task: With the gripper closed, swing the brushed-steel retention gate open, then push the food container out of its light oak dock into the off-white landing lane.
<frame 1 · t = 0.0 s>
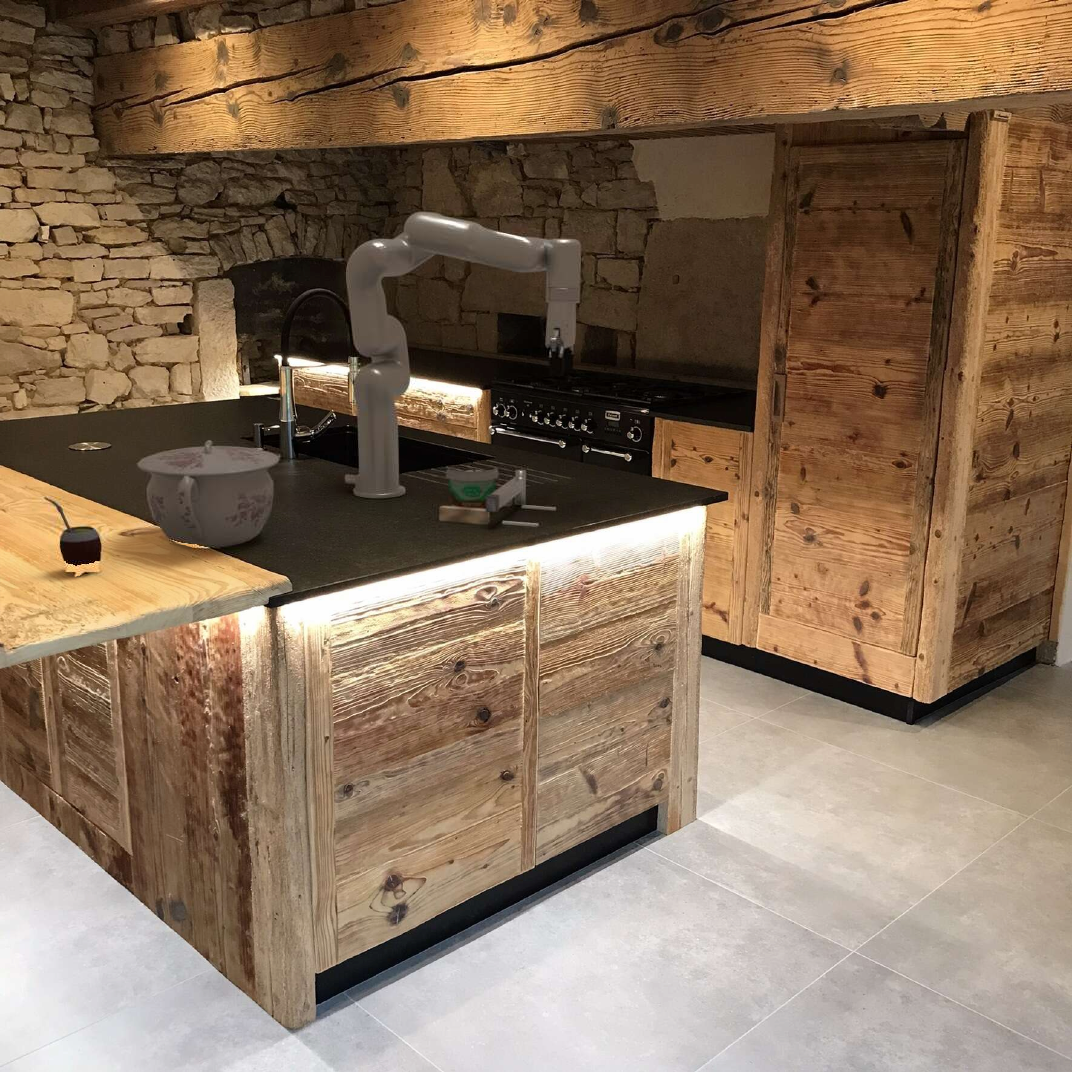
hand: (561, 373, 247), 31 cm above the table, fingers open, 9 cm apart
dock: (476, 512, 249), on the table
food container: (474, 513, 249), on the table
chamber pot: (213, 541, 222), on the table
retention gate: (507, 497, 245), point 4 cm above the table, hinge at 0.0°
mate gourd: (81, 573, 200), on the table
landing lane: (529, 516, 246), on the table
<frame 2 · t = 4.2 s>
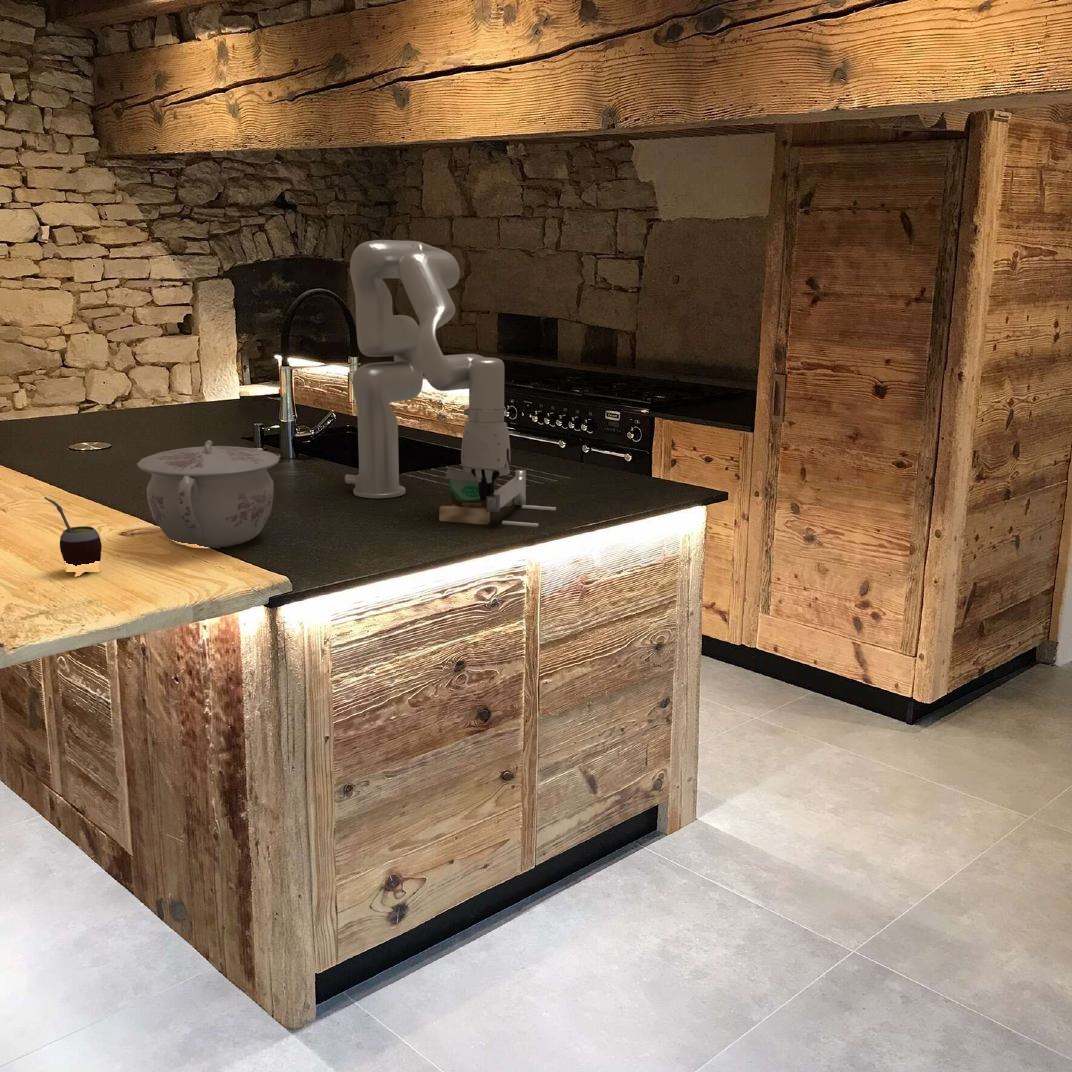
hand: (486, 499, 239), 5 cm above the table, fingers closed
retention gate: (507, 497, 245), point 4 cm above the table, hinge at 0.5°, touching gripper
everything else where it was.
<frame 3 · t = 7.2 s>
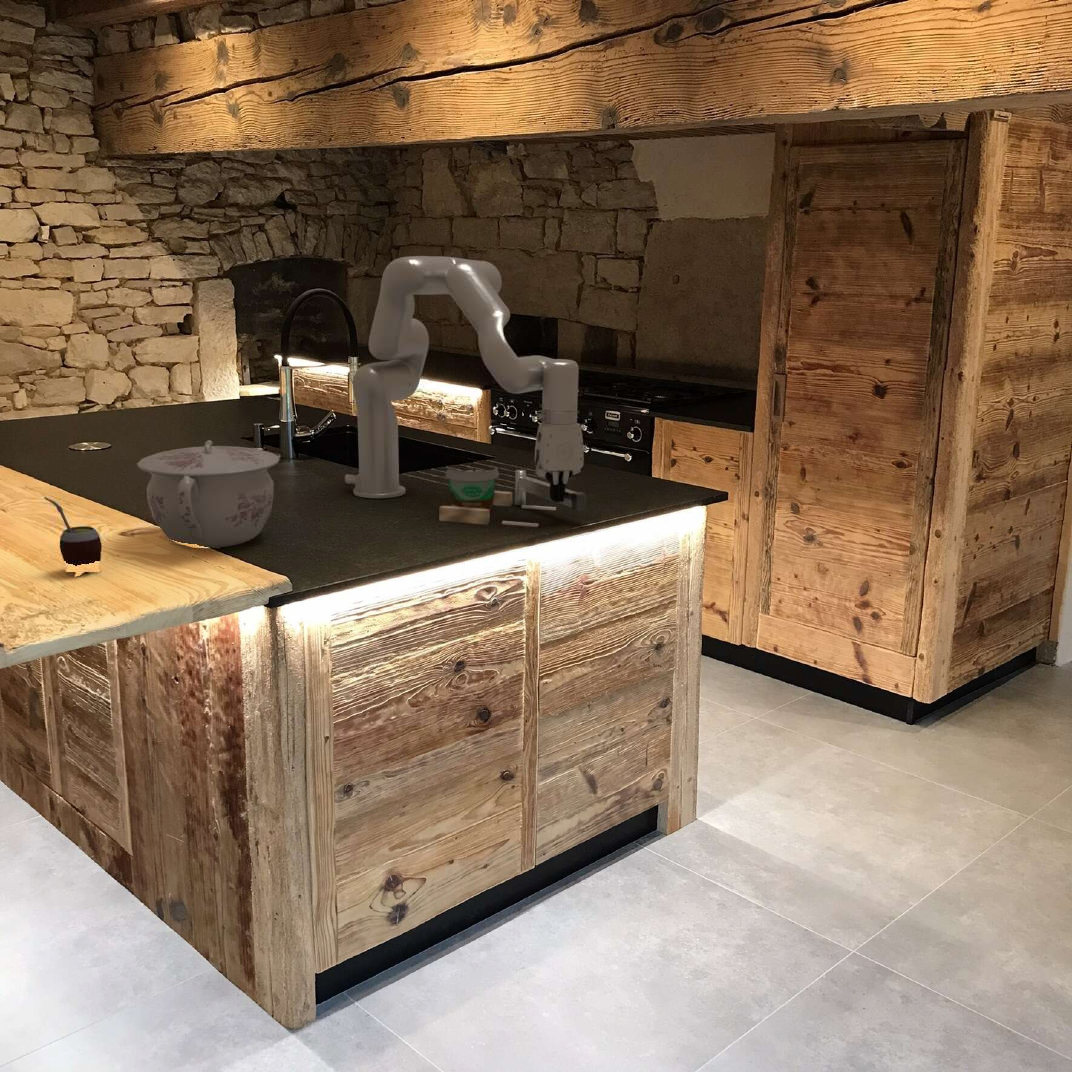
hand: (557, 500, 239), 5 cm above the table, fingers closed
retention gate: (548, 496, 247), point 4 cm above the table, hinge at 49.9°, touching gripper
everything else where it was.
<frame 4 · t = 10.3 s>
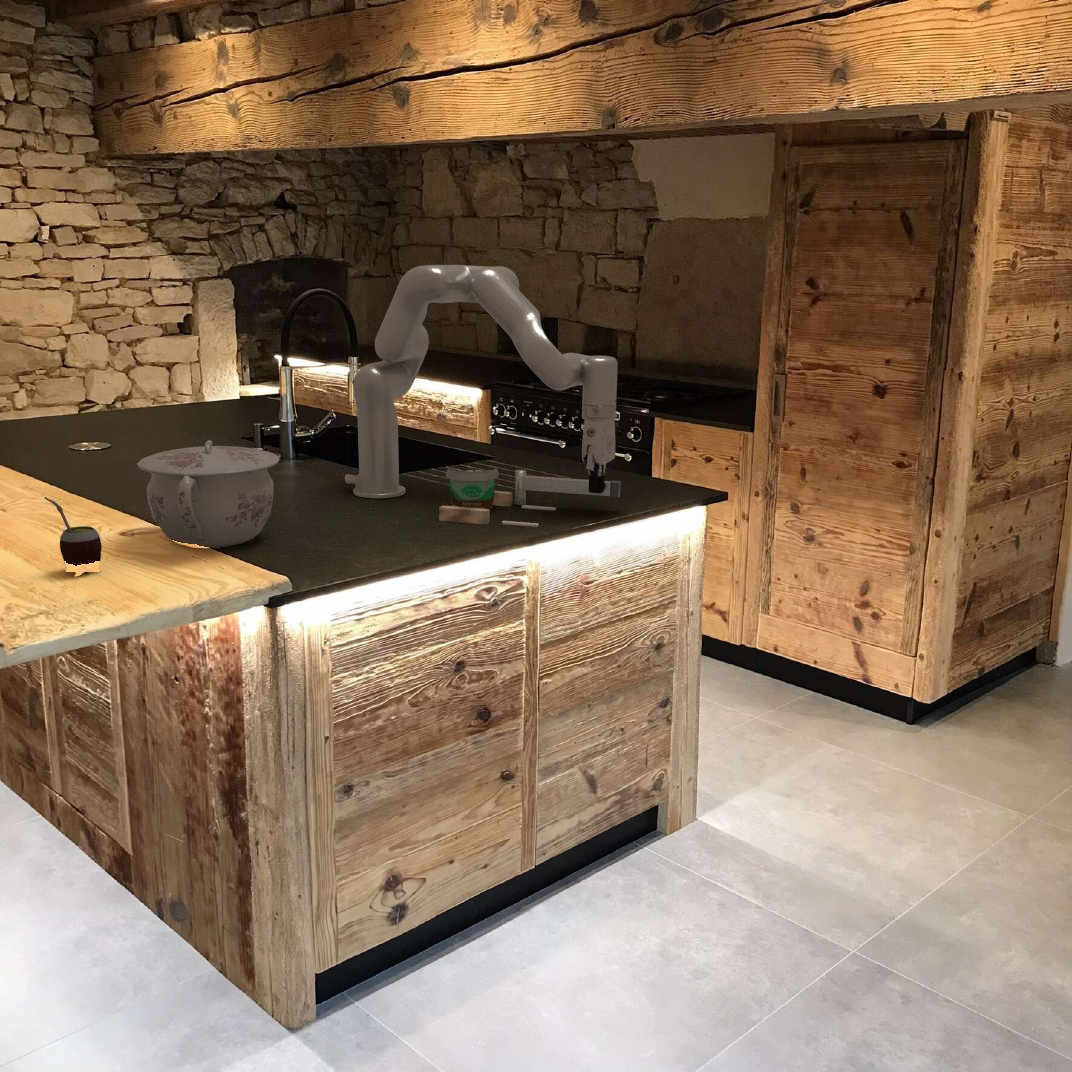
hand: (596, 492, 248), 5 cm above the table, fingers closed
retention gate: (566, 490, 253), point 4 cm above the table, hinge at 90.0°, touching gripper
everything else where it was.
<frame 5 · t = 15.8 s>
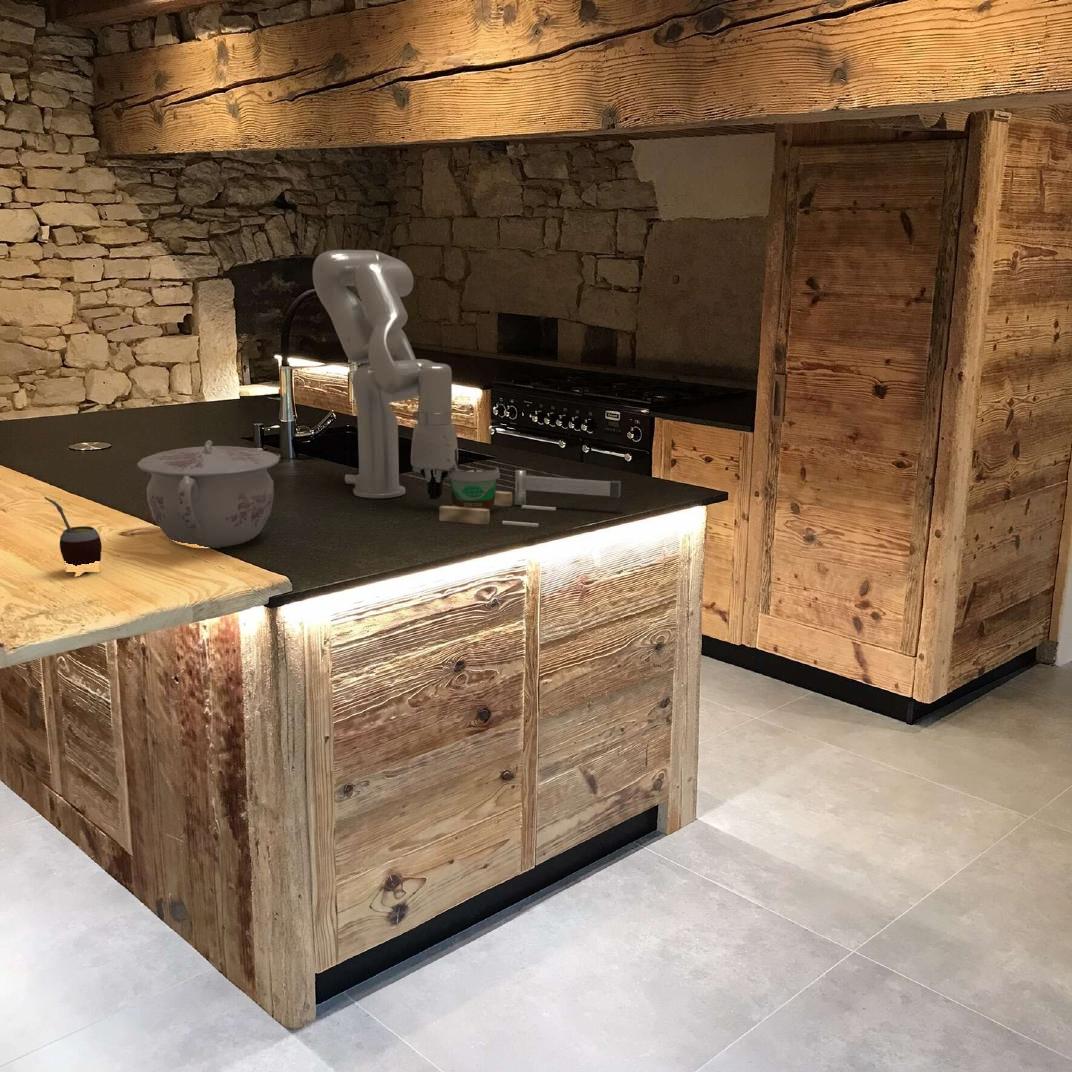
hand: (435, 497, 251), 3 cm above the table, fingers closed
food container: (475, 513, 249), on the table, touching gripper
retention gate: (566, 490, 253), point 4 cm above the table, hinge at 90.1°
everything else where it was.
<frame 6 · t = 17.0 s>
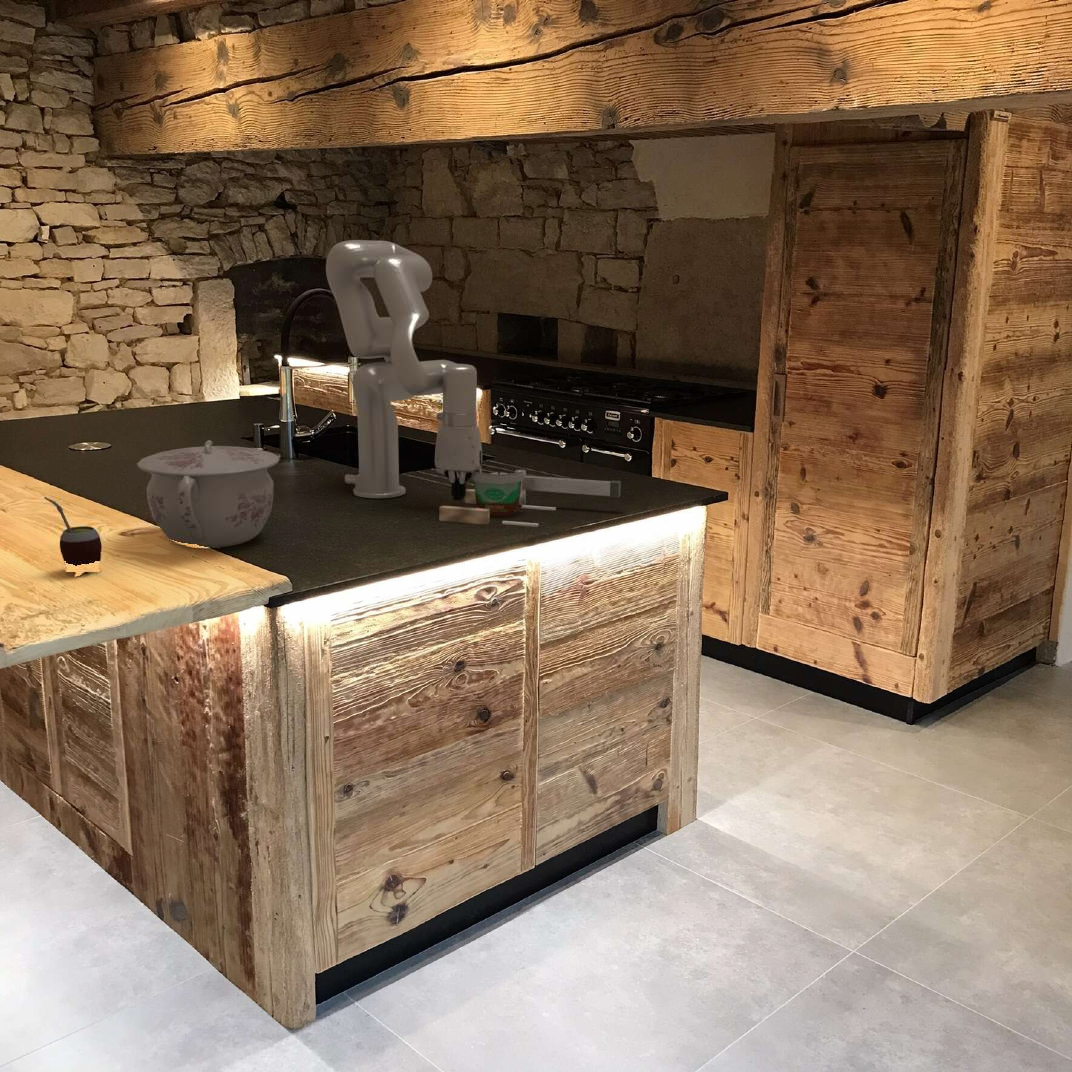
hand: (458, 499, 250), 3 cm above the table, fingers closed
food container: (498, 516, 247), on the table, touching gripper
everything else where it was.
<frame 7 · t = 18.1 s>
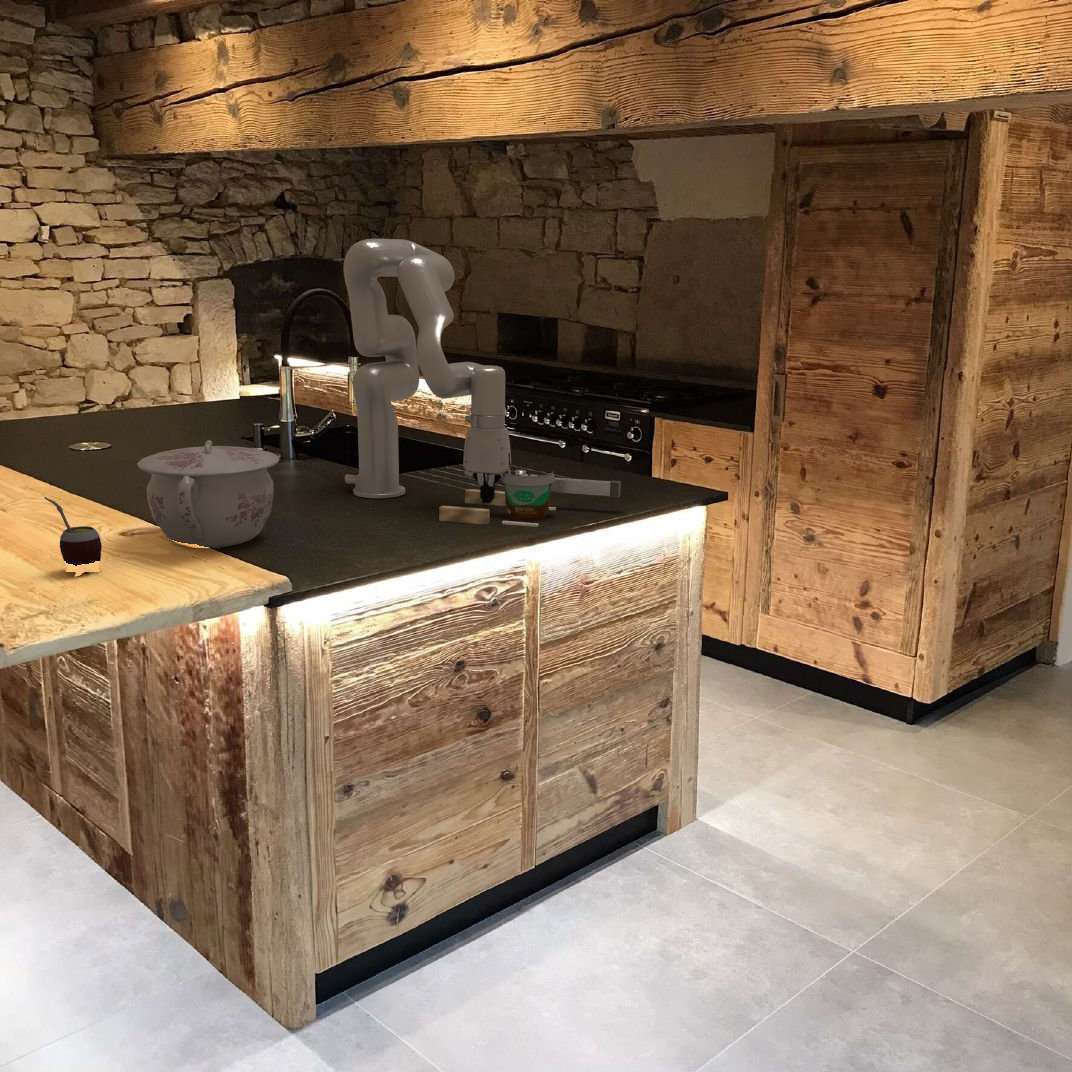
hand: (487, 501, 248), 3 cm above the table, fingers closed
food container: (528, 518, 245), on the table, touching gripper
everything else where it was.
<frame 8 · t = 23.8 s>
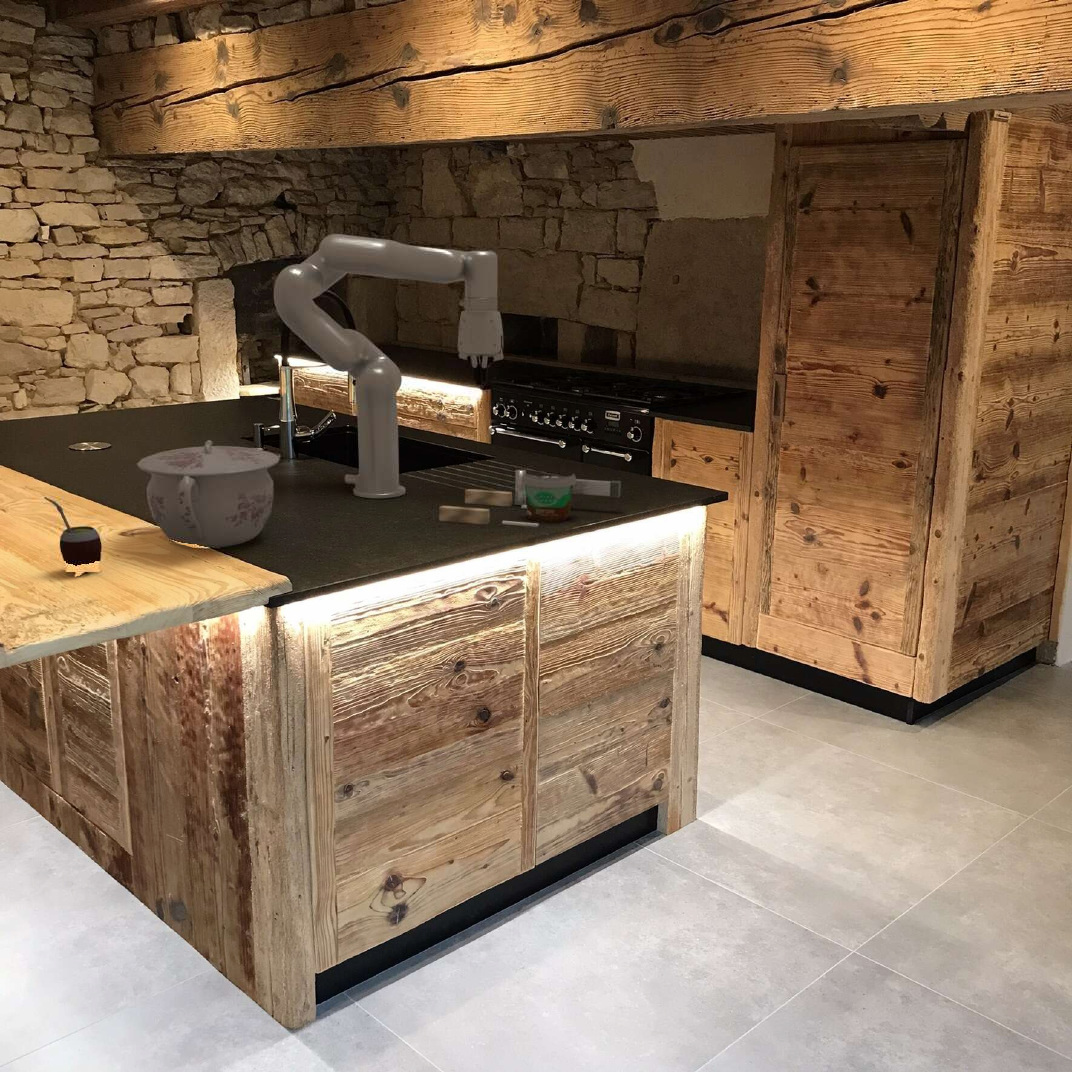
hand: (481, 384, 259), 27 cm above the table, fingers closed
food container: (548, 520, 244), on the table
everything else where it was.
at the end: retention gate at +90° (first picture: +0°); food container inside the target area (3.9 cm from its centre), on the table; food container tilted 0° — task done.
